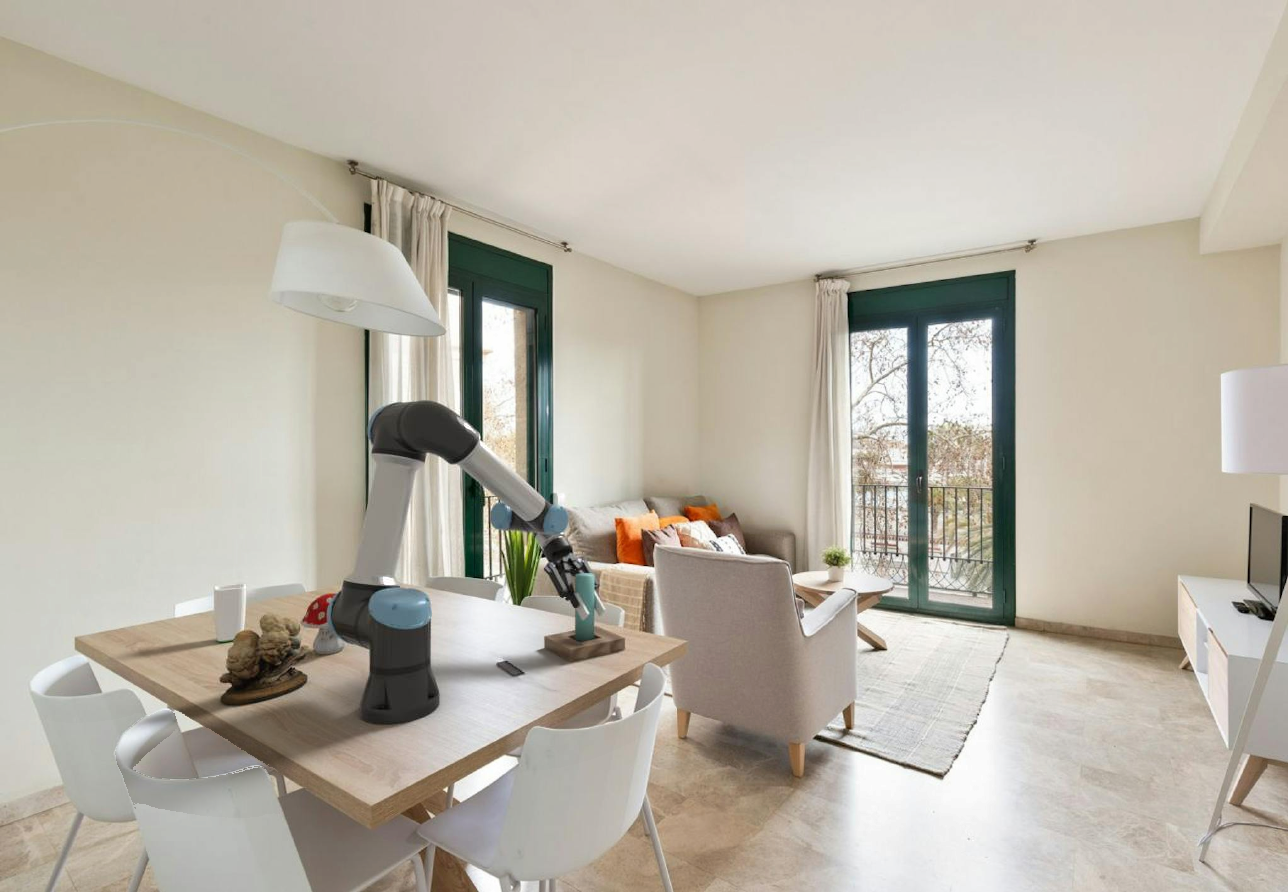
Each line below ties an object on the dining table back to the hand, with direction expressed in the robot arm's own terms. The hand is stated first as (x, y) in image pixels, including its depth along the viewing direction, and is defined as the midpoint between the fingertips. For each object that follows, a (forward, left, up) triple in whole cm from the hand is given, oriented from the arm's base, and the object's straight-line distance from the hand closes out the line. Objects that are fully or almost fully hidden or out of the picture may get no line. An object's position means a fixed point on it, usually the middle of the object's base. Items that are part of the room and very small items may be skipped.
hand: (594, 614), depth 157 cm
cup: (-75, +74, -11) cm, 105 cm away
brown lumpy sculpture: (-70, +23, -11) cm, 74 cm away
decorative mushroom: (-54, +46, -11) cm, 71 cm away
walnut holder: (-1, +4, -10) cm, 11 cm away
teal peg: (-1, +4, -7) cm, 8 cm away
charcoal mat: (-18, +4, -10) cm, 21 cm away
